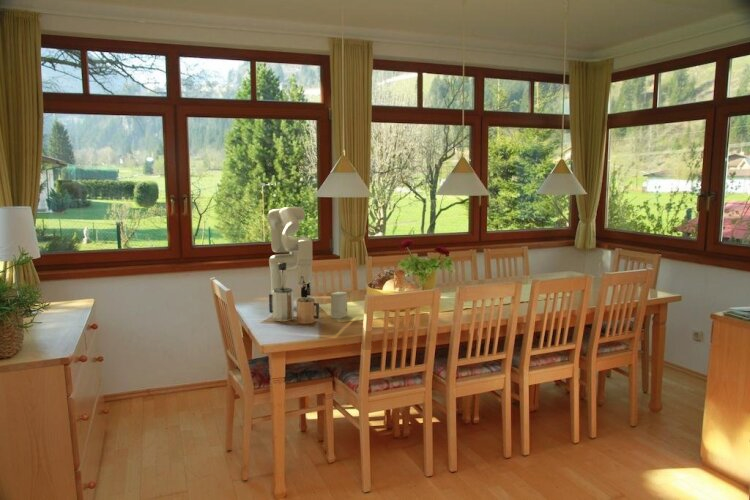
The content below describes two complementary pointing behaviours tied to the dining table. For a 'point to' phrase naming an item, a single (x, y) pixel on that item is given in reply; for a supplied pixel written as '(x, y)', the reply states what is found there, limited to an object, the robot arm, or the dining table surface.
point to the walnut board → (291, 322)
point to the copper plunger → (307, 292)
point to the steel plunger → (282, 267)
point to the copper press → (307, 310)
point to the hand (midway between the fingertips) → (305, 295)
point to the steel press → (282, 304)
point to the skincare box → (338, 305)
